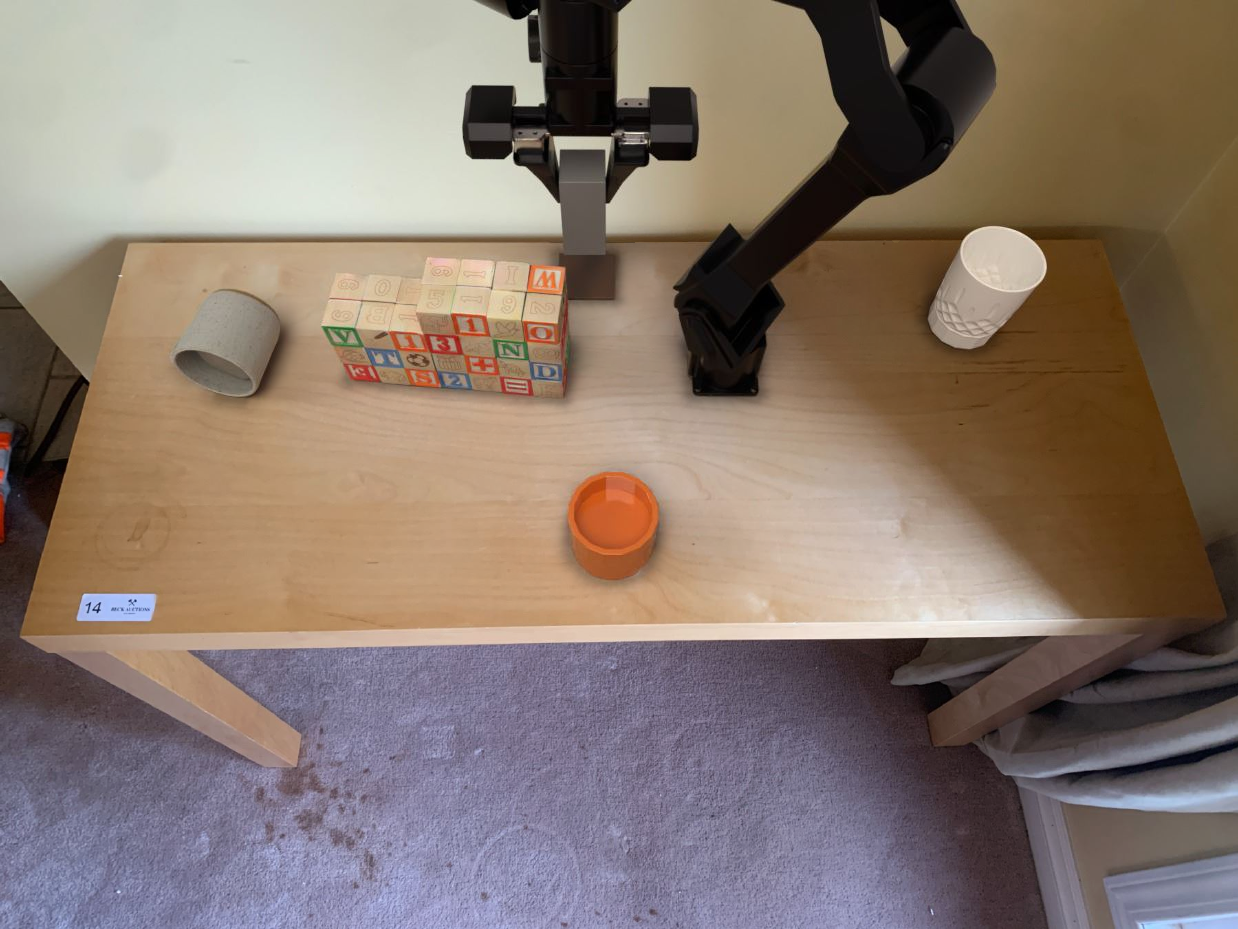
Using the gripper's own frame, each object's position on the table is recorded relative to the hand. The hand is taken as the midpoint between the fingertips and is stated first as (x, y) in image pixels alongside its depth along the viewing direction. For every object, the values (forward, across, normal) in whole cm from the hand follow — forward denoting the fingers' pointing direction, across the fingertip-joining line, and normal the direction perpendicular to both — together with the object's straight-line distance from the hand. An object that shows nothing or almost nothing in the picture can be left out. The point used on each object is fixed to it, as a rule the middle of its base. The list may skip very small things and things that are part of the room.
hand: (584, 199), depth 71 cm
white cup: (+13, -39, +4) cm, 41 cm away
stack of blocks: (+13, +12, +9) cm, 20 cm away
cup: (+13, -3, +28) cm, 31 cm away
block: (+5, 0, 0) cm, 5 cm away
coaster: (+13, 0, -2) cm, 13 cm away
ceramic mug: (+13, +35, +9) cm, 39 cm away
